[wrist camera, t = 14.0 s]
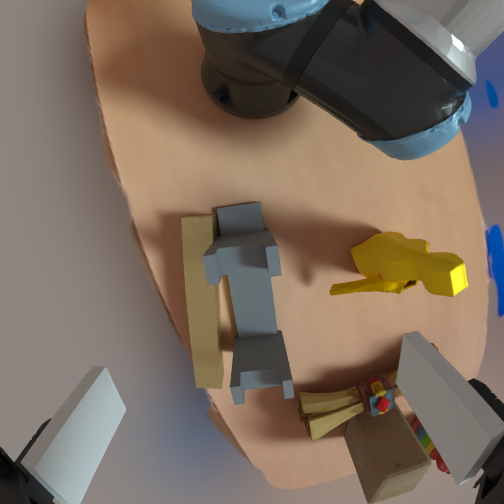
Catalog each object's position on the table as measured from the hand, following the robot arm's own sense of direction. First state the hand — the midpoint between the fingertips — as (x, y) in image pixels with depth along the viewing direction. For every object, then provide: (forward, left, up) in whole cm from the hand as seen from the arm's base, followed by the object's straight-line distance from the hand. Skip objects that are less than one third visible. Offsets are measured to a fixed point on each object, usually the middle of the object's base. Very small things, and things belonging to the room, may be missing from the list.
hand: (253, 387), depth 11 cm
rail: (+7, -8, -31) cm, 33 cm away
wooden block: (+39, +19, -31) cm, 53 cm away
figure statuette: (+3, +18, -31) cm, 36 cm away
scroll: (+27, +18, -31) cm, 45 cm away
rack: (+7, -1, -31) cm, 31 cm away
